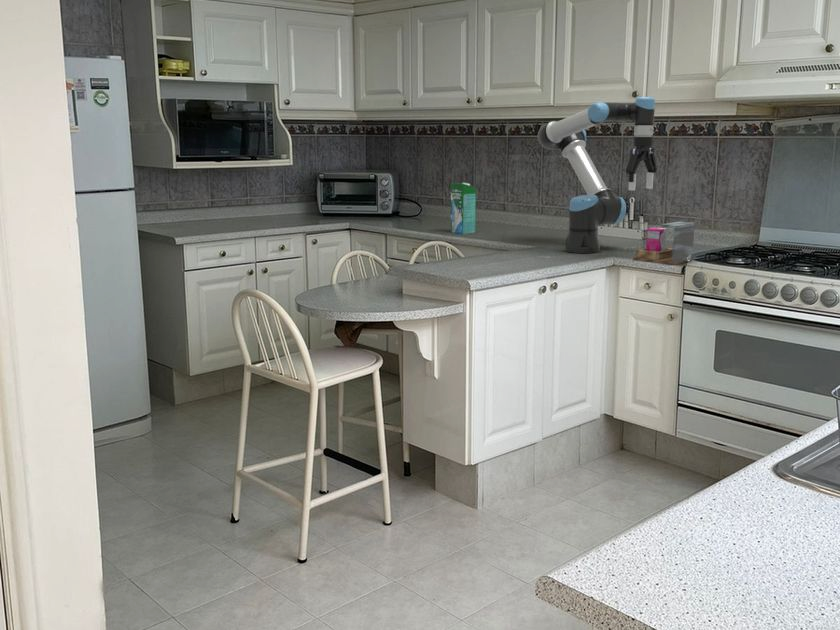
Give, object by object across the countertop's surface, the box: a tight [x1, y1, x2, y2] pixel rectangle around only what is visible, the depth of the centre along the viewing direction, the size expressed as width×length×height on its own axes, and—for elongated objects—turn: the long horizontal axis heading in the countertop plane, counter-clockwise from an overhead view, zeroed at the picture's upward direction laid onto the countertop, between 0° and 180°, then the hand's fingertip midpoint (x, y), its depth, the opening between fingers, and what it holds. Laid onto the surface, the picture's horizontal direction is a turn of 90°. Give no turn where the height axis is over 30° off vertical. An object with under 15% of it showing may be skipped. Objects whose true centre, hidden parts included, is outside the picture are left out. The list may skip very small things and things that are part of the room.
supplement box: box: [645, 227, 667, 252], centre depth 332 cm, size 6×6×12 cm
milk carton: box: [450, 182, 477, 235], centre depth 422 cm, size 9×9×25 cm
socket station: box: [632, 221, 696, 265], centre depth 330 cm, size 18×14×15 cm
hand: (640, 189), depth 343 cm, fingers open, 13 cm apart
